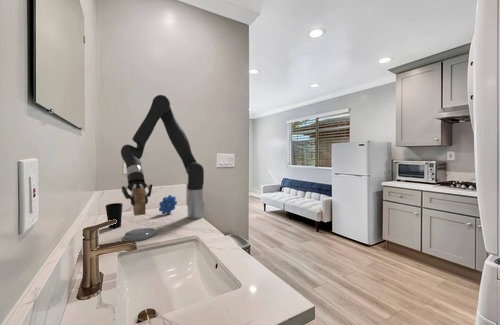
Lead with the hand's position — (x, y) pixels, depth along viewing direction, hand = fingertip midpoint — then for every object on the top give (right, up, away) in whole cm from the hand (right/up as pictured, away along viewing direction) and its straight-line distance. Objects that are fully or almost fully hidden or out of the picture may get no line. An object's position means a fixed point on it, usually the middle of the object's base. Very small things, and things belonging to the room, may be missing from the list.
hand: (140, 204), depth 105 cm
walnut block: (-1, -5, +2) cm, 6 cm away
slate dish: (-1, -16, +2) cm, 16 cm away
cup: (-20, -15, +14) cm, 29 cm away
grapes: (-2, -14, +40) cm, 42 cm away
